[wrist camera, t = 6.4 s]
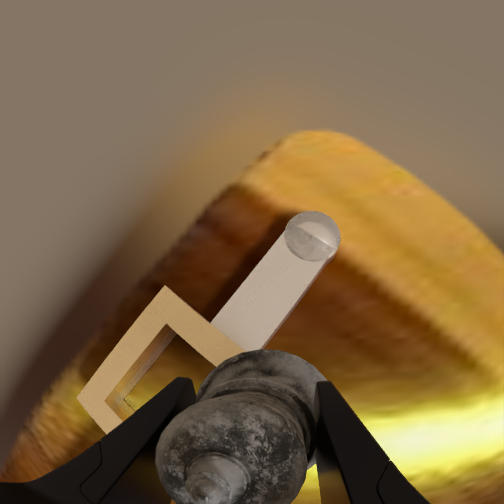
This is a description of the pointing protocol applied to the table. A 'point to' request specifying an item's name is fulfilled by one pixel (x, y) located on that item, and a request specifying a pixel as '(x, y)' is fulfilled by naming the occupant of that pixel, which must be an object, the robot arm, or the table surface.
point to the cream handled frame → (267, 288)
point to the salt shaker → (243, 433)
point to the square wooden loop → (143, 345)
